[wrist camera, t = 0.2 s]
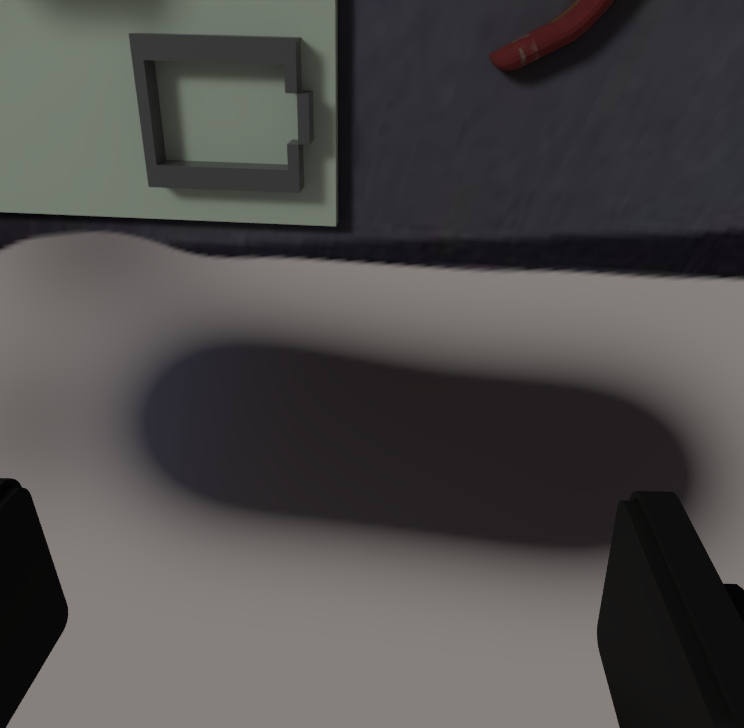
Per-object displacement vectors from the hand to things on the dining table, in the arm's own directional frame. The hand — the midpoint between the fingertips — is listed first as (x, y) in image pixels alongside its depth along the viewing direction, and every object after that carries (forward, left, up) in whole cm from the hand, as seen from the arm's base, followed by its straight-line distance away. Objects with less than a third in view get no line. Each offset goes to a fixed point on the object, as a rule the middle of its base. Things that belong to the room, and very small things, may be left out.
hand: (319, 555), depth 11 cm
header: (-3, -9, -30) cm, 31 cm away
